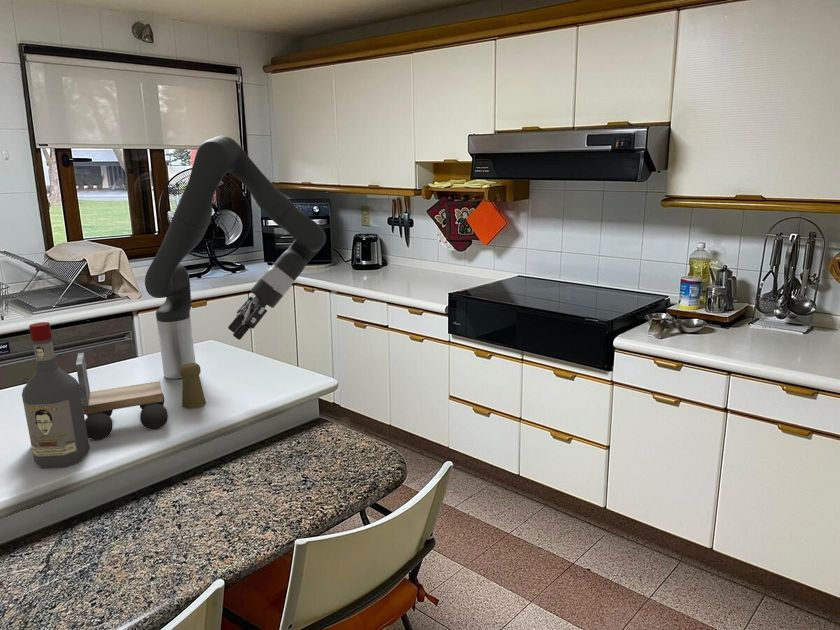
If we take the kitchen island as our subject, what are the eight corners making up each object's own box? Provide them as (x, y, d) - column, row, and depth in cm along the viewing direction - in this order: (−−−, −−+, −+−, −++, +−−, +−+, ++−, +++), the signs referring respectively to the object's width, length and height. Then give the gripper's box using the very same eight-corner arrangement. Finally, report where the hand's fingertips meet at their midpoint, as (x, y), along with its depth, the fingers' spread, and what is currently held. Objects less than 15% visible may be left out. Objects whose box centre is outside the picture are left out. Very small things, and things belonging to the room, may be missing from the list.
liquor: (52, 450, 143) (28, 320, 135) (94, 448, 143) (72, 318, 136) (30, 470, 134) (3, 331, 127) (75, 467, 134) (51, 329, 127)
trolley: (87, 421, 159) (76, 351, 154) (165, 407, 166) (156, 340, 161) (85, 442, 146) (72, 367, 142) (169, 427, 153) (159, 355, 149)
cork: (210, 399, 170) (205, 360, 168) (200, 408, 164) (195, 367, 162) (188, 399, 171) (183, 360, 168) (177, 408, 165) (172, 367, 162)
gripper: (256, 273, 175) (217, 320, 173) (267, 281, 162) (225, 331, 160) (277, 290, 178) (240, 336, 176) (289, 299, 165) (249, 348, 163)
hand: (233, 334), depth 168 cm, fingers open, 8 cm apart
